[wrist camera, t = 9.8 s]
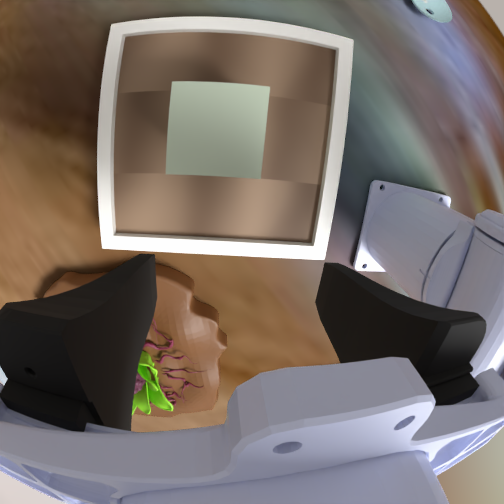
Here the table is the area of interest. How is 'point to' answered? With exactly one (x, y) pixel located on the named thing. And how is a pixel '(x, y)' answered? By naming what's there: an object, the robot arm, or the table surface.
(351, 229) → the table surface
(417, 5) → the pacifier
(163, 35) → the hole plate
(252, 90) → the peg
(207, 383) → the plant
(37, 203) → the table surface
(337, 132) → the tray
